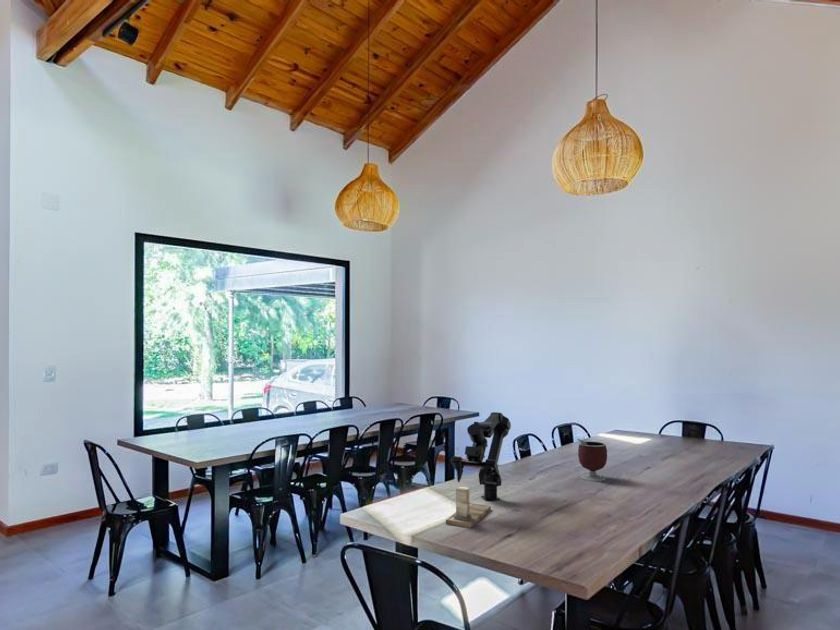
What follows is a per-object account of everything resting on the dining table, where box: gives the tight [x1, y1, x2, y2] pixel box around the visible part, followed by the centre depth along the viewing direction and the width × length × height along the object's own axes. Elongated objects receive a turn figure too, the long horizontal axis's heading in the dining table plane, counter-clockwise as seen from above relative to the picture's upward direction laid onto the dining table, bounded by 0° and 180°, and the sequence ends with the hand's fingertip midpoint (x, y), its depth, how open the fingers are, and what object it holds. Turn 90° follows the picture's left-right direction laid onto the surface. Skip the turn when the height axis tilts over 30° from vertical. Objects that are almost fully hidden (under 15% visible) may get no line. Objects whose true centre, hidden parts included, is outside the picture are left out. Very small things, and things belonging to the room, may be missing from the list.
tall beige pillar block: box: [454, 486, 471, 520], centre depth 216 cm, size 5×5×11 cm
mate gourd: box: [576, 438, 608, 482], centre depth 282 cm, size 16×14×20 cm
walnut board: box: [445, 502, 492, 528], centre depth 222 cm, size 24×10×2 cm, turn 155°
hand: (469, 482), depth 223 cm, fingers open, 9 cm apart
